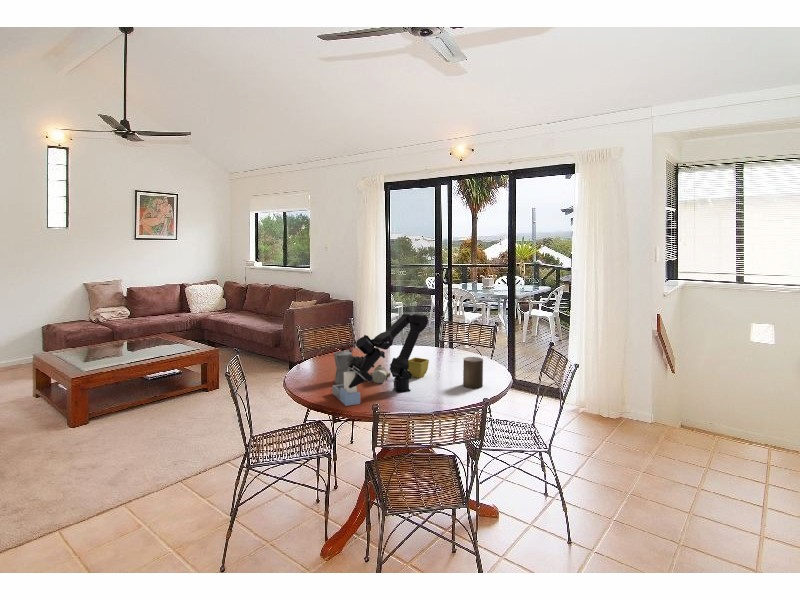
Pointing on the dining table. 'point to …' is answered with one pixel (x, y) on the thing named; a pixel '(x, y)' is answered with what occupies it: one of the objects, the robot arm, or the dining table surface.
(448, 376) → the dining table surface
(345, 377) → the plug post
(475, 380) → the pillar candle
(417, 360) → the flower pot
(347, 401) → the light blue notched block
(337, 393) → the blue open box
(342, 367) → the coffeepot
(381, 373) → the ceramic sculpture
